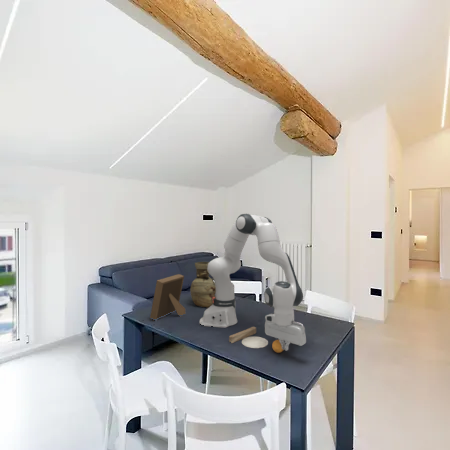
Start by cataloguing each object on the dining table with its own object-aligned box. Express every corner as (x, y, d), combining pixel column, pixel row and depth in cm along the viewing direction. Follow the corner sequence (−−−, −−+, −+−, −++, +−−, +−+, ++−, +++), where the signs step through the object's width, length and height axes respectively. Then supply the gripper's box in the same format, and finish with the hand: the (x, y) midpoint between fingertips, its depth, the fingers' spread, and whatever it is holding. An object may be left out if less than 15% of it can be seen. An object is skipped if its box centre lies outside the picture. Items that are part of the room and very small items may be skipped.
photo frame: (149, 320, 176) (149, 279, 175) (172, 309, 195) (172, 273, 194) (169, 324, 169) (168, 282, 168) (190, 313, 188) (190, 275, 188)
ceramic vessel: (224, 305, 203) (223, 263, 202) (195, 310, 194) (194, 265, 194) (214, 299, 220) (213, 260, 220) (187, 302, 212) (186, 262, 211)
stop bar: (256, 333, 154) (256, 327, 154) (232, 343, 142) (231, 337, 142) (253, 332, 156) (253, 326, 156) (229, 342, 144) (229, 336, 143)
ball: (276, 354, 128) (269, 343, 131) (276, 355, 133) (270, 344, 136) (286, 348, 129) (279, 336, 131) (286, 349, 134) (280, 338, 136)
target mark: (241, 348, 137) (241, 347, 137) (241, 336, 150) (241, 336, 150) (269, 348, 136) (269, 347, 136) (266, 337, 149) (266, 336, 149)
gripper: (308, 322, 124) (309, 354, 124) (270, 312, 139) (271, 341, 139) (300, 325, 120) (301, 359, 119) (262, 315, 135) (263, 345, 135)
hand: (285, 349), depth 129 cm, fingers closed
